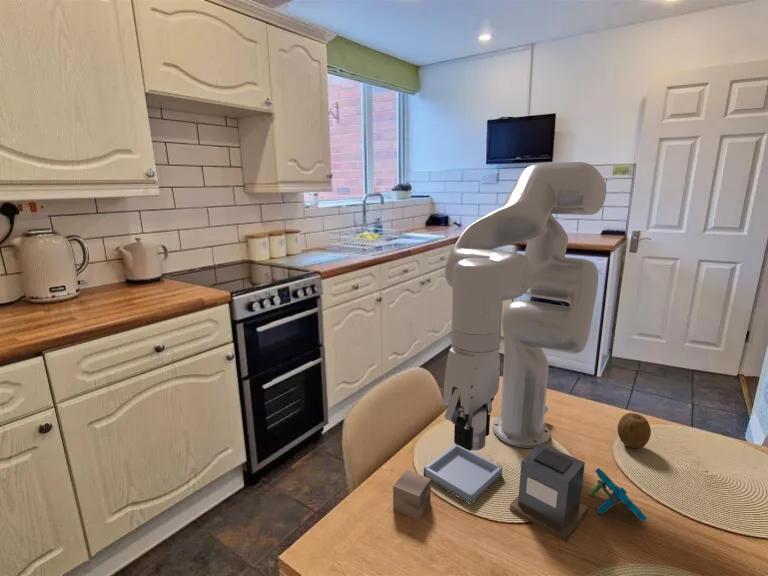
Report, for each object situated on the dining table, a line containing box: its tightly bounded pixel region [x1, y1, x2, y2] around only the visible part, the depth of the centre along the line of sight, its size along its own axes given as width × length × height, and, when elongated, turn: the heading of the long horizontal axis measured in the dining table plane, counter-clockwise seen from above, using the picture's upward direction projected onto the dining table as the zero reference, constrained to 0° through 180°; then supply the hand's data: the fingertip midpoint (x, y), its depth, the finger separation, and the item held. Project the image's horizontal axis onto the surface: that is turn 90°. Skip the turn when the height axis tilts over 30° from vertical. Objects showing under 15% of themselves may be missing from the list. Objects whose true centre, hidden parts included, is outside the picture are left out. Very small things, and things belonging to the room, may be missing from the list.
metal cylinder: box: [460, 406, 487, 451], centre depth 69 cm, size 4×4×6 cm
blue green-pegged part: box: [588, 467, 648, 523], centre depth 73 cm, size 11×6×10 cm
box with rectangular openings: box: [509, 443, 588, 542], centre depth 73 cm, size 9×10×10 cm
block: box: [392, 469, 432, 521], centre depth 75 cm, size 5×5×5 cm
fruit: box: [617, 412, 652, 449], centre depth 91 cm, size 6×6×8 cm
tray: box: [423, 443, 503, 505], centre depth 83 cm, size 11×11×2 cm
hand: (471, 438), depth 70 cm, fingers closed on metal cylinder, 4 cm apart
